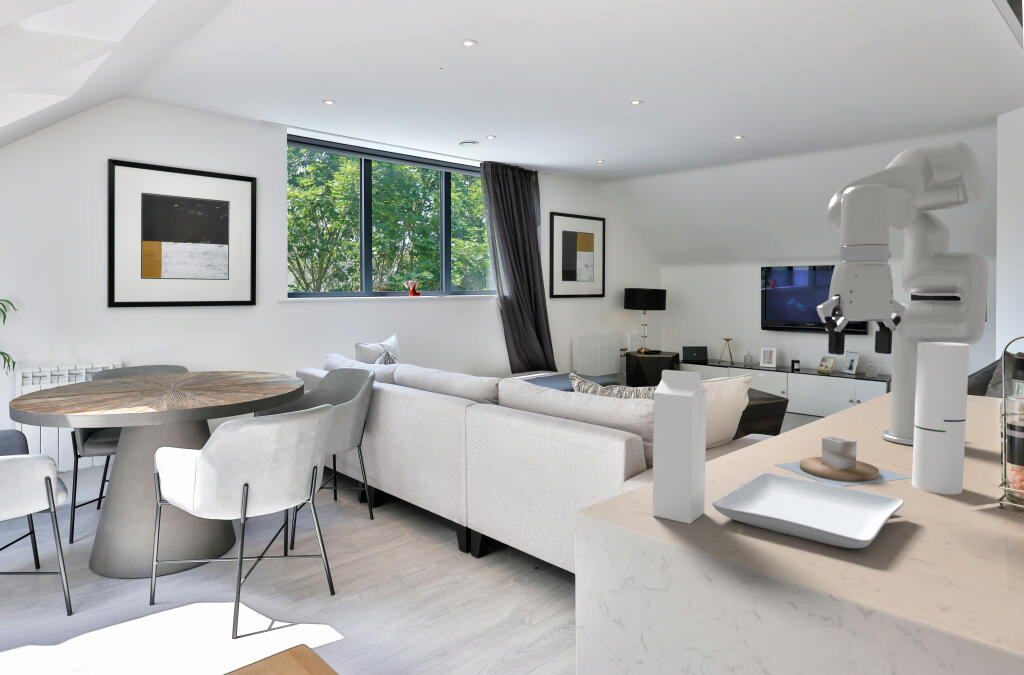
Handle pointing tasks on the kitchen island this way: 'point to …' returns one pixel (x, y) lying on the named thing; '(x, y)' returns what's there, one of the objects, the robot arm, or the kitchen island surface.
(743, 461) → the kitchen island surface
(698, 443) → the milk
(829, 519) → the salad plate
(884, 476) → the mat
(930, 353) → the cylindrical container
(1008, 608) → the kitchen island surface
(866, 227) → the robot arm
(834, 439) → the lid
